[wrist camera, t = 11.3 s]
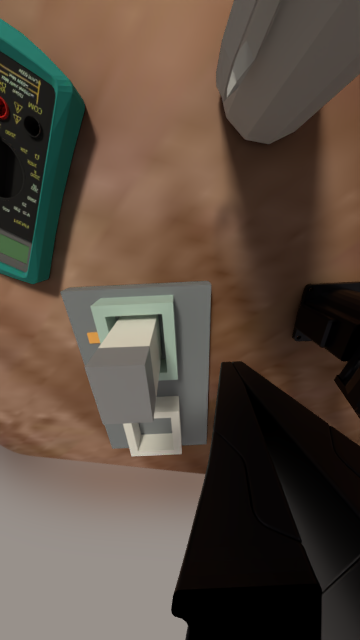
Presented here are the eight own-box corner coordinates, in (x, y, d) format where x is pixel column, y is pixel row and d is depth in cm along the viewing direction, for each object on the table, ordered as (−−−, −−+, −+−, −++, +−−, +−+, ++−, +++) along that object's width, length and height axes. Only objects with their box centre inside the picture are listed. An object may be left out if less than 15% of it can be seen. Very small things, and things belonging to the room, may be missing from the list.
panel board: (208, 280, 18) (211, 285, 16) (205, 434, 28) (206, 445, 27) (69, 287, 18) (58, 292, 16) (115, 438, 28) (112, 450, 27)
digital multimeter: (92, 97, 13) (70, 60, 10) (51, 282, 18) (30, 290, 16) (-23, 20, 11) (-84, -47, 9) (-30, 246, 17) (-69, 248, 14)
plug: (157, 312, 18) (144, 364, 10) (161, 354, 20) (153, 422, 13) (122, 313, 18) (84, 367, 10) (129, 355, 20) (103, 424, 13)
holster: (178, 395, 22) (178, 411, 20) (181, 437, 26) (181, 454, 24) (125, 398, 22) (120, 414, 20) (135, 439, 26) (131, 456, 24)
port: (173, 294, 17) (173, 302, 15) (177, 365, 20) (177, 379, 19) (100, 298, 17) (90, 306, 15) (117, 368, 21) (111, 382, 19)
